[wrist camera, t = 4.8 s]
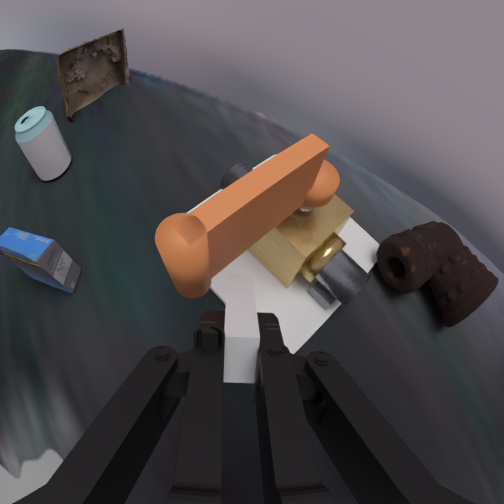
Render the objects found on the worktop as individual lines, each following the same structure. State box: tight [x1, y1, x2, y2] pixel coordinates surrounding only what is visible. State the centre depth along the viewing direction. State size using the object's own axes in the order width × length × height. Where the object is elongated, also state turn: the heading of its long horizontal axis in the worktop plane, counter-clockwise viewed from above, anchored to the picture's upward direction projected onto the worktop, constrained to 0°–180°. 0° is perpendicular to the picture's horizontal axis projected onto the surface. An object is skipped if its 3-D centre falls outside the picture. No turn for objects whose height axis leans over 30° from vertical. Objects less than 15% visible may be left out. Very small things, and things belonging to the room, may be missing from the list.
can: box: [15, 106, 71, 181], centre depth 36 cm, size 7×7×12 cm
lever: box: [155, 134, 340, 299], centre depth 21 cm, size 17×4×7 cm, turn 133°
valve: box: [221, 162, 370, 310], centre depth 32 cm, size 20×8×12 cm, turn 43°
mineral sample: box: [57, 29, 131, 122], centre depth 43 cm, size 17×4×15 cm, turn 143°
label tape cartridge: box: [0, 227, 82, 293], centre depth 28 cm, size 9×4×12 cm, turn 79°
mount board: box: [187, 154, 379, 354], centre depth 38 cm, size 22×21×1 cm
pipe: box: [376, 221, 498, 327], centre depth 34 cm, size 10×15×15 cm
